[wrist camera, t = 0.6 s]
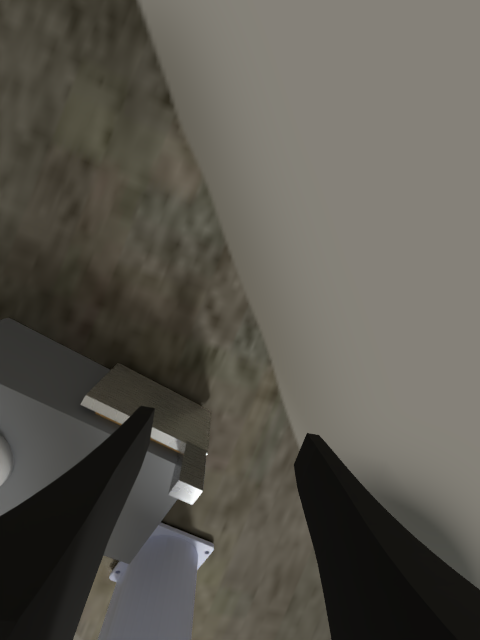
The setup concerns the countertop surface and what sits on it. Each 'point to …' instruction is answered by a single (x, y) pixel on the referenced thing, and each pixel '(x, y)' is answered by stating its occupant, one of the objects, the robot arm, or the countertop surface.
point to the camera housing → (67, 433)
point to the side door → (159, 422)
